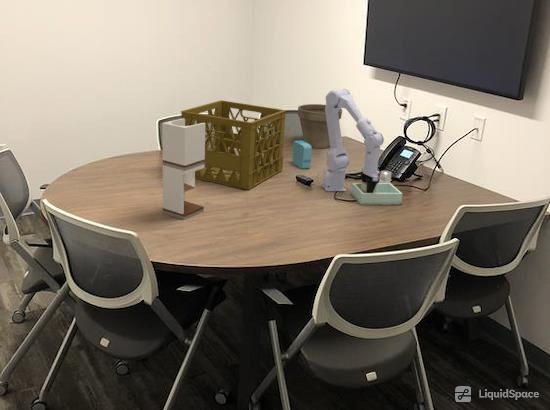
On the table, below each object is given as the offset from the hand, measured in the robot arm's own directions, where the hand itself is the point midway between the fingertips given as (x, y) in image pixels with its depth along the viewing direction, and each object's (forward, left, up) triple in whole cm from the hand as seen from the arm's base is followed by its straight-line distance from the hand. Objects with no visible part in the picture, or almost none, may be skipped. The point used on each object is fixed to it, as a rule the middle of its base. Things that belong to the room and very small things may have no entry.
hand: (367, 191), depth 247 cm
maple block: (0, 0, -2) cm, 2 cm away
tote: (+4, 0, -3) cm, 5 cm away
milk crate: (-54, +36, -4) cm, 65 cm away
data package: (-18, +49, -4) cm, 52 cm away
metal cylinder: (+15, +17, -3) cm, 23 cm away
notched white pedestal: (-79, -13, -4) cm, 80 cm away
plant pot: (+1, +90, -4) cm, 90 cm away
